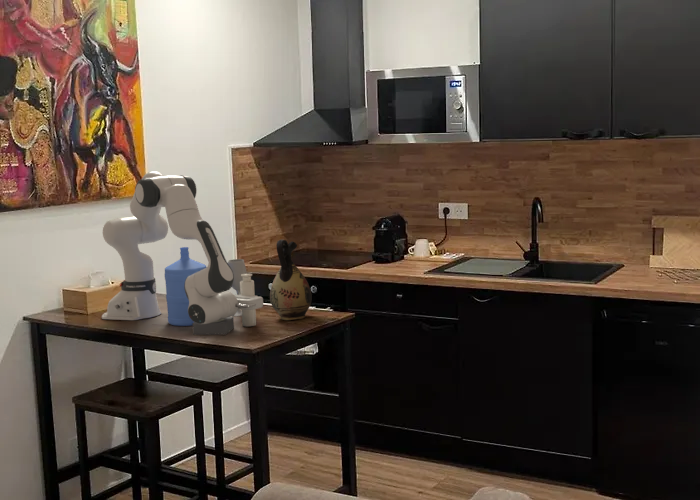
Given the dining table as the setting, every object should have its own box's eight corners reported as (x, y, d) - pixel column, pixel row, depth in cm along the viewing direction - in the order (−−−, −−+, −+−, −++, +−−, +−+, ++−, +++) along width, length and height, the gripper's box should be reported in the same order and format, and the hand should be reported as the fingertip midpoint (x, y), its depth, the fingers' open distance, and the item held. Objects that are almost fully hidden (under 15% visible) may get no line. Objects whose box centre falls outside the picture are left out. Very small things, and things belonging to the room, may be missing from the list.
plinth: (193, 334, 312) (192, 322, 311) (201, 327, 322) (201, 316, 321) (226, 334, 310) (225, 322, 309) (234, 327, 320) (233, 315, 319)
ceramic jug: (282, 312, 342) (277, 235, 337) (319, 314, 336) (315, 235, 332) (262, 322, 326) (257, 241, 322) (300, 324, 320) (296, 242, 316)
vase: (240, 326, 320) (237, 275, 317) (244, 323, 325) (241, 273, 322) (254, 326, 319) (251, 275, 317) (257, 323, 324) (254, 273, 322)
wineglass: (251, 311, 345) (247, 258, 342) (246, 316, 338) (243, 261, 335) (231, 312, 346) (228, 259, 343) (227, 316, 339) (223, 262, 336)
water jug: (202, 326, 324) (197, 250, 320) (161, 326, 326) (156, 251, 322) (215, 317, 339) (211, 244, 335) (176, 317, 341) (171, 245, 337)
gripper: (249, 297, 304) (272, 290, 316) (202, 293, 314) (226, 286, 326) (250, 315, 305) (273, 307, 317) (203, 311, 315) (227, 303, 327)
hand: (249, 297), depth 321 cm, fingers closed on vase, 5 cm apart
